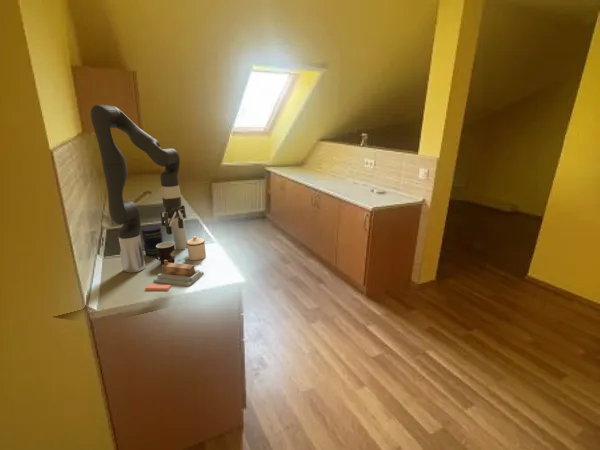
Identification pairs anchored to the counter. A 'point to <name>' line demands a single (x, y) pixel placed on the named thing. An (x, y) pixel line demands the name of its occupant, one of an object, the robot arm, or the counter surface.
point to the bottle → (179, 235)
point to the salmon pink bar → (158, 287)
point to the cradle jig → (178, 278)
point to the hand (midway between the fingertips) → (175, 231)
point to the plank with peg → (178, 269)
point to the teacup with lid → (196, 248)
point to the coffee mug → (166, 252)
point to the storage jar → (151, 239)
